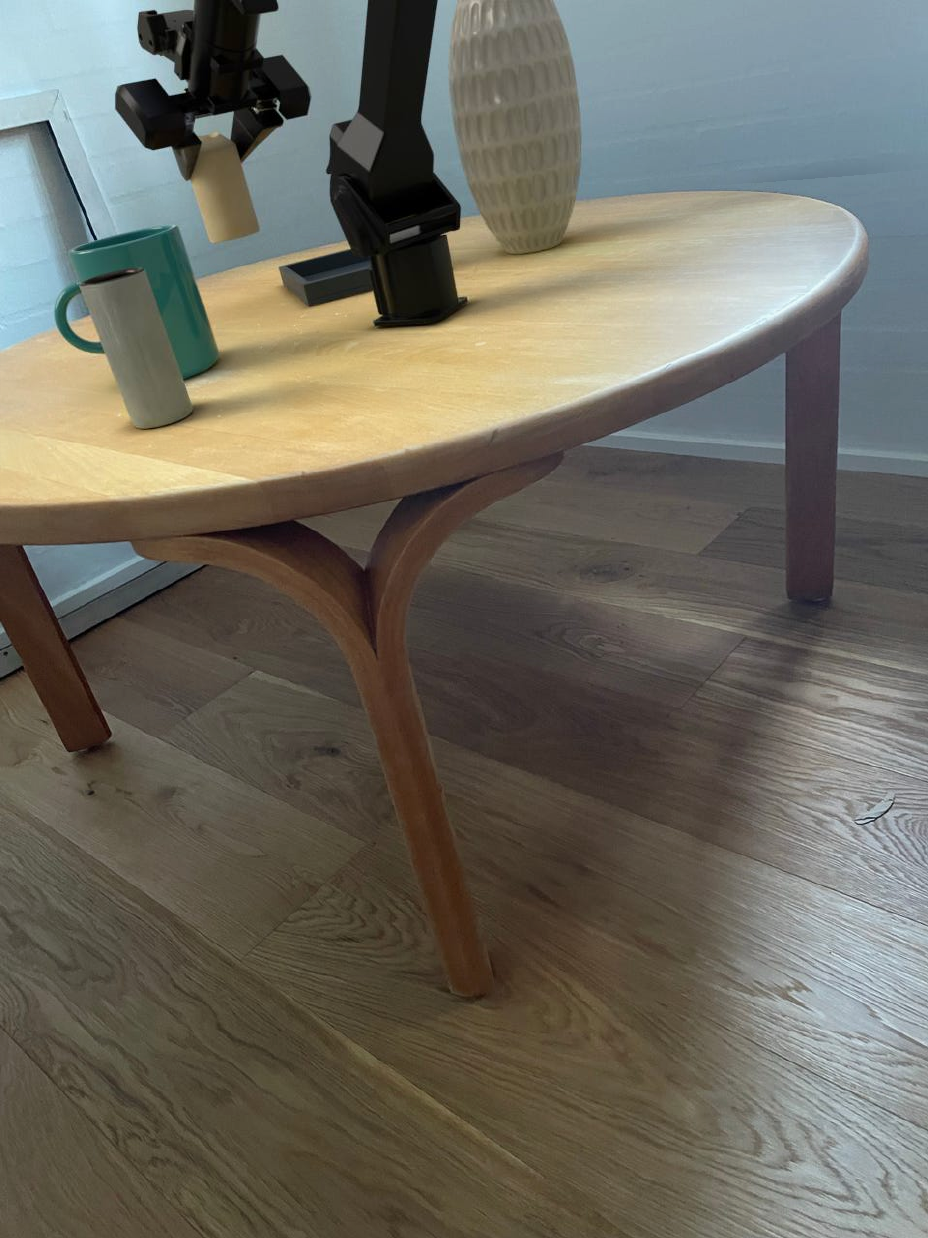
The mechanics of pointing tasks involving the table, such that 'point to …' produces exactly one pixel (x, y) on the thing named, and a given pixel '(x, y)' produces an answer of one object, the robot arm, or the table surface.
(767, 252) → the table surface
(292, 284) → the tray
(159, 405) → the planter
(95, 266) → the cup
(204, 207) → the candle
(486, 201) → the vase
